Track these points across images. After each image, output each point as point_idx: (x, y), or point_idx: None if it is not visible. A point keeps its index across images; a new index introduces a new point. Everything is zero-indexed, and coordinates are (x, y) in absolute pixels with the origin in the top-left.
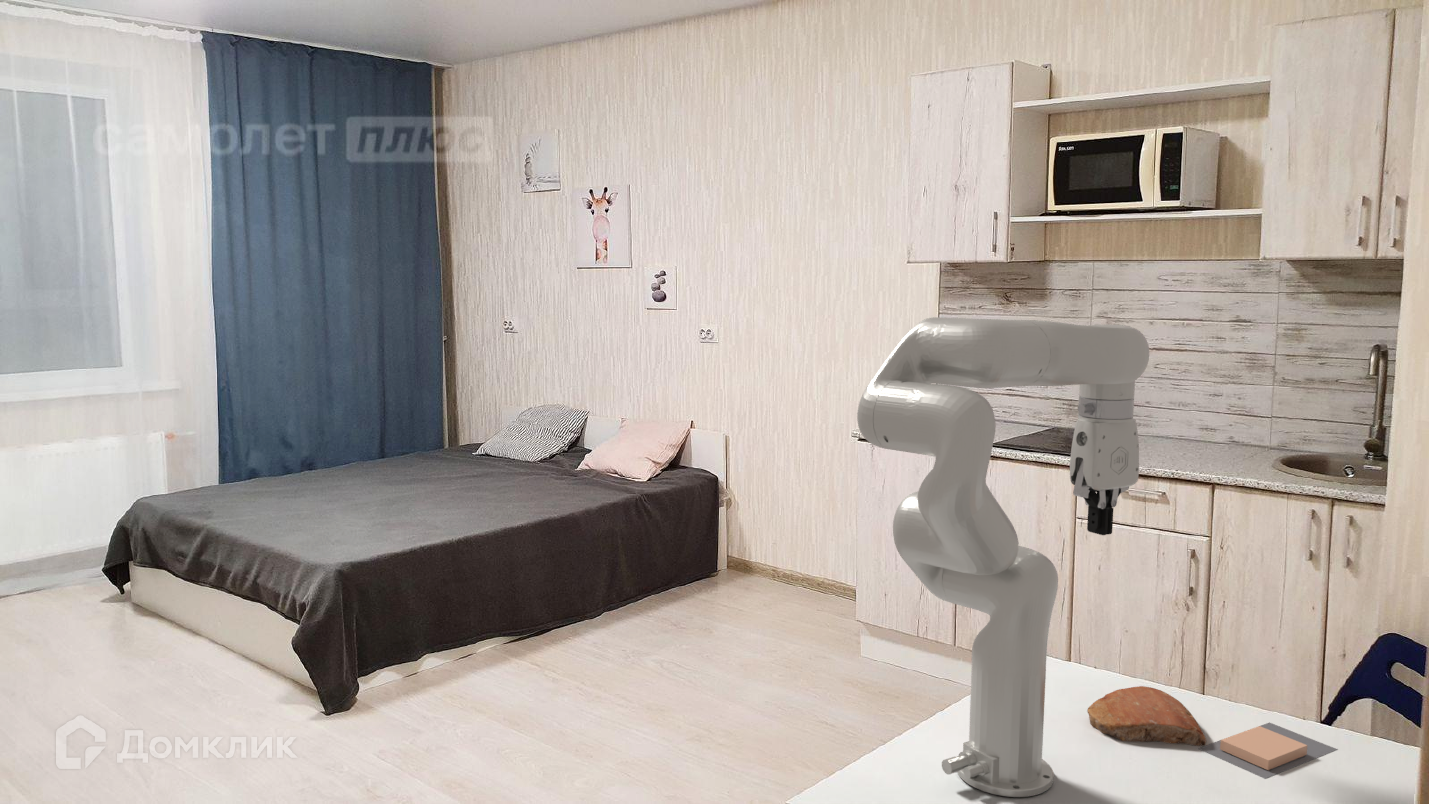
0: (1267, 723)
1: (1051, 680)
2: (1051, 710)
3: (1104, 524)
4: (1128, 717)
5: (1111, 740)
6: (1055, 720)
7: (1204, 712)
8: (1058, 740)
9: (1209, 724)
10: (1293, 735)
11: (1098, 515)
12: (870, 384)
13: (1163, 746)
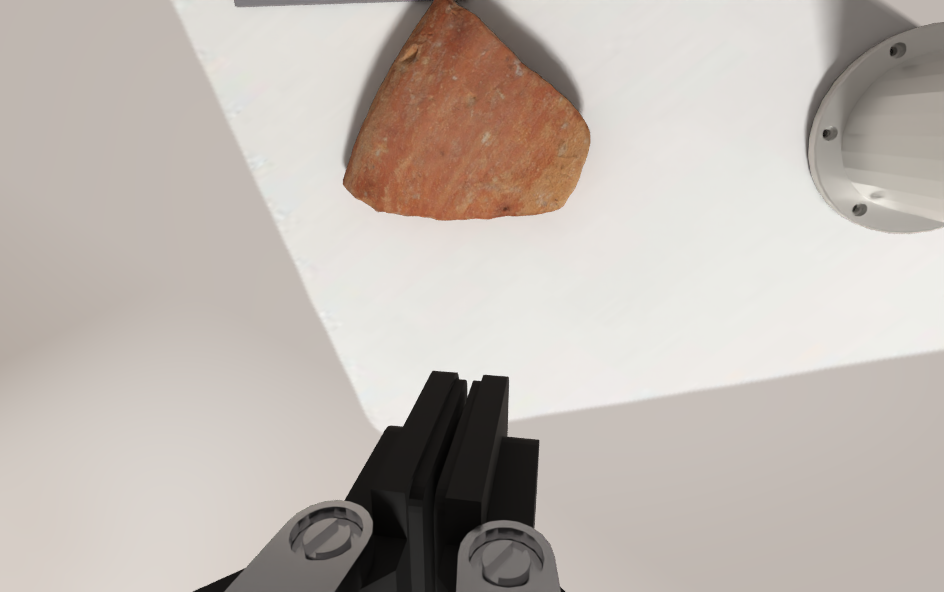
0: (242, 4)
1: None
2: (562, 285)
3: (500, 419)
4: (545, 113)
5: None
6: (594, 251)
7: (305, 118)
8: (670, 186)
9: (341, 75)
10: None
11: (529, 502)
12: None
13: None
